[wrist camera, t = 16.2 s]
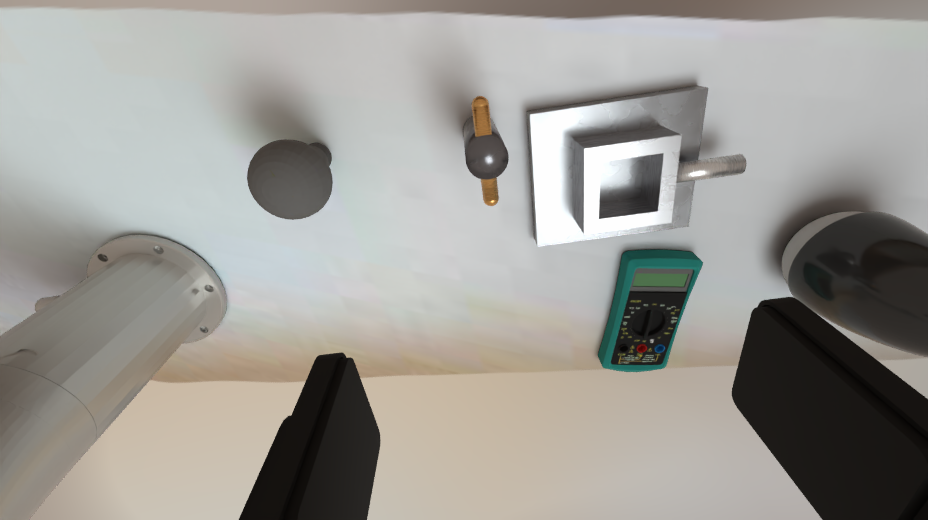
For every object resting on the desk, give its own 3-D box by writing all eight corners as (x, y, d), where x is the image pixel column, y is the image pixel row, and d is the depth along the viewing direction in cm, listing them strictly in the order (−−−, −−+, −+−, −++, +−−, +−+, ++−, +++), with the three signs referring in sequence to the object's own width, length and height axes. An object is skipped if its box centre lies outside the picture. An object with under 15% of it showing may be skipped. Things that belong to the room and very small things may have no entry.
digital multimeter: (594, 357, 48) (602, 376, 45) (621, 246, 41) (632, 261, 38) (655, 358, 48) (666, 376, 46) (692, 247, 41) (708, 261, 38)
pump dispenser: (765, 302, 44) (901, 417, 31) (758, 221, 39) (914, 317, 26) (868, 268, 42) (1059, 375, 29) (873, 179, 37) (1105, 259, 24)
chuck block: (534, 239, 40) (544, 264, 35) (526, 111, 34) (537, 122, 29) (706, 215, 39) (738, 238, 34) (728, 81, 33) (770, 87, 29)
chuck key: (456, 86, 33) (457, 102, 25) (491, 81, 33) (502, 94, 25) (469, 176, 36) (473, 214, 28) (500, 171, 36) (512, 208, 28)
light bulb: (351, 190, 37) (318, 238, 28) (288, 178, 36) (235, 224, 27) (355, 128, 34) (321, 160, 25) (287, 114, 34) (228, 142, 25)
